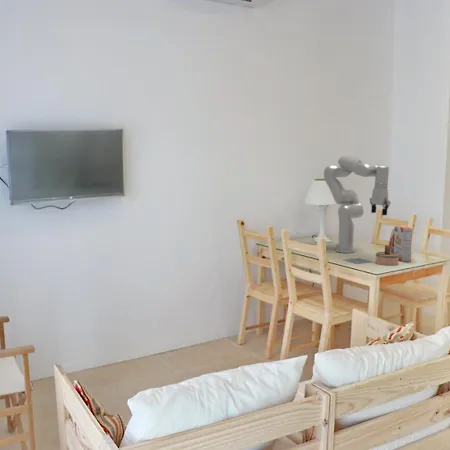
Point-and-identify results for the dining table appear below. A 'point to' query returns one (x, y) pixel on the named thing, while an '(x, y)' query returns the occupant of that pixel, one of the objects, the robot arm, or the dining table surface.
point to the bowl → (387, 261)
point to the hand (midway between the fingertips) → (378, 213)
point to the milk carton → (392, 241)
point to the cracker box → (403, 242)
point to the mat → (357, 261)
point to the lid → (387, 253)
